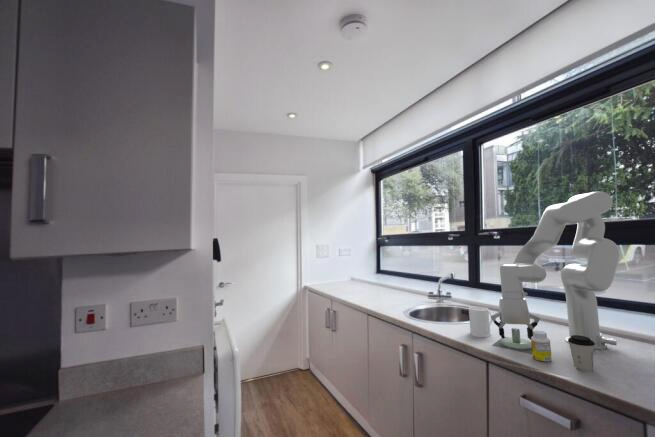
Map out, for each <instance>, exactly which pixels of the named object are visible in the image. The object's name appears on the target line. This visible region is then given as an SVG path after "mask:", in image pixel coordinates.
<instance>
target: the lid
mask: <svg viewBox="0 0 655 437" xmlns="http://www.w3.org/2000/svg"><path fill="white" fill-rule="evenodd" d="M500 339H501V338H500ZM501 344H502V345H504V346H506V347H509V348H513V349H522V350H525V349H531V348H532V344H531V340H529V339H525V338H521V332H520V328H515V327H513V328H511V337H509V338H504V339H501Z"/></svg>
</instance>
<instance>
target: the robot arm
mask: <svg viewBox="0 0 655 437" xmlns="http://www.w3.org/2000/svg"><path fill="white" fill-rule="evenodd" d="M612 206H613V198H612V197H611V195H610V194H609V193H608V192H605V191H600V190H599V191H591V192H587V193H586V192H585V193H581V194H577V195H572V196H571V197H570V198H569V199H568V200H567V202H562V203H561V202H560V203H556V204H552V205H549V206H547V207H546V208H545V210H544V211H543V213H542V216H541V218H540V221H539V223H538V224H537V226H536V229H535V231H534V233H533V235H532V236H531V238H530V239H529V240H528V241H527V242H526V243H525V244H524V245H523V246H522V247H521V249H520V250H519V251H518V253H517V255H516V256H515V259H514V261H513V263H505V264H501V265H500V267H499V275H500V276H499V277H500V286H501V297H499V304H498V306H499V307H498V312H496V313H494V314H491V315H492V316H490V315H489V318H490V320H491V319H492V322H493V323H494V325H496V327H498V334H499V336H500V337H501V338H503V339H504V338H505V337H506V336H505V329H504V326H505V325H522V326H523V325H526V326H527V327H526V332H527V335H526V336H527V338H528V340H529V341H531V337H532V336H533V331H534V330H535V328H536V327H537V326H538V324H539V321H540V320H541V318H540V317H538V316H536V315H534V314H532V313H530V311H529V310H530V309H529V306H528V302H527V300H526V298H525V297H526V296H528V292H526V291H524V285H523V283H531V284H533V283H535V284H536V283H537V284H538V283H540V282H543V281H544V280H545V279H546V277H547V271H546V269H545V268H544V267H543V266H542V265H541V264H540V265H539V264H537V263H535V261H536V260H537V259H538V258H539V257H540V255H542V254H543V253H545V252H548V251H549V250H551V249H553V248H554V247H556V246H557V245H558V243H559V241H560V239H561V236H562V234H563V231H564V229H565V228H566V226H567V225H574V224H577V227H576V233H575V237H574V239H573V243H572V248H571V254H572V257H573V258H574V259H576V260H578V261H580V262H586V263H587V264H581V263H570V264H567V265H565V266H563V268H562V270H561V271H560V272H561V273H560V279H561V282H562V285H563V288H564V293H565V299H566V300H565V302H566V303H565V304H566V312H567V322H568V323H567V324H568V332H569V336H567V337H565V339H564V340H565V343H567V344H569V342H568V339H569V338H571V336H572V335H580V336H585V337H588V338H590V340H592V341H593V342H594V343H595V345H594V350H595V351H597V350H605V349H606V348H608V347H607V346H608V345H610V346H617V344H618V343H617V339H613V338H612V337H611V338H610V337H605V336H603V333H601V329H600V321H599V319H600V318H599V311H598V310H599V309H598V300H597V296H596V294H595V292H596V293H601V292H602V293H603V292H606V290H608V289H609V288H610V287H611V285H612V283H613V281H614V278H615V274H616V271H617V268H618V267H617V266H618V263H619V259H620V250H619V249H620V248H619V247H618V245H617V243H616V242H614V241H613V240H611V239H609V238H605V237H604V236H605V232H606V224H605V222H604V219H603V218H602V216H601V215H602V214H605V213H607V212H608V211H609V210H610V209H611V208H612ZM498 318H499V320H500V321H499V322H498V321H497V319H498ZM531 319H533V321H532V322H531Z"/></svg>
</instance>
